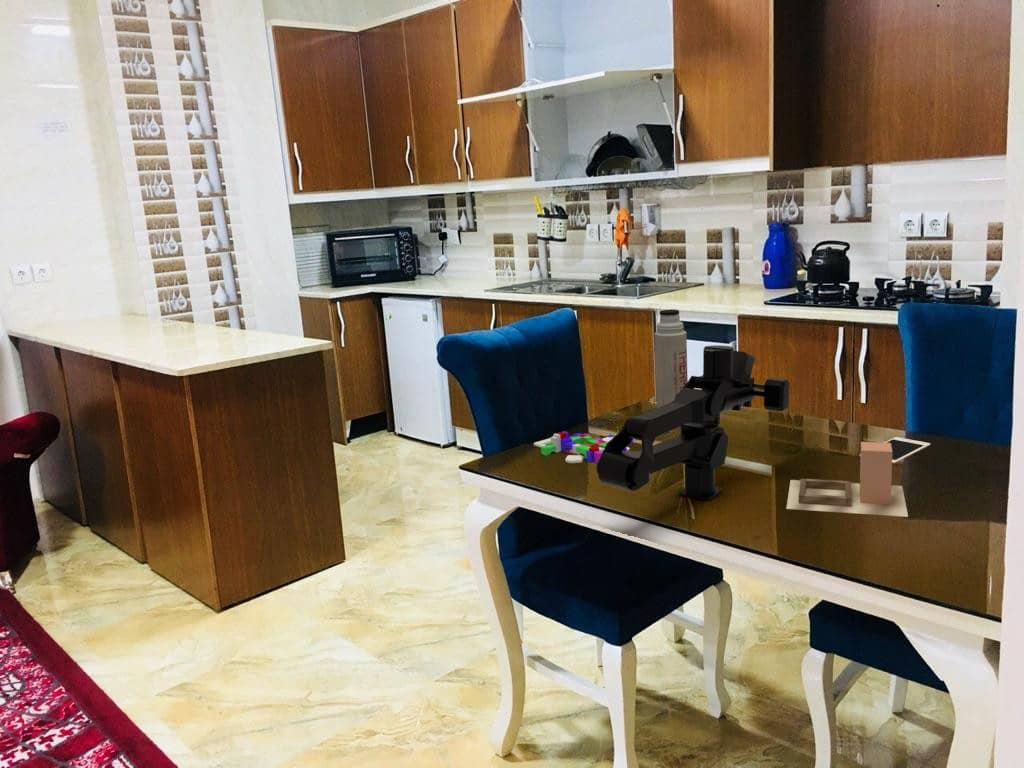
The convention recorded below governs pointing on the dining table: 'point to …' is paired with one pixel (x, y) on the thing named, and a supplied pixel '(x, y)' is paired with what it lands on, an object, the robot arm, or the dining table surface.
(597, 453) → the building block set
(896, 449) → the cell phone
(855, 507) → the board
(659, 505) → the dining table surface
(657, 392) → the thermos bottle
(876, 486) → the pillar
